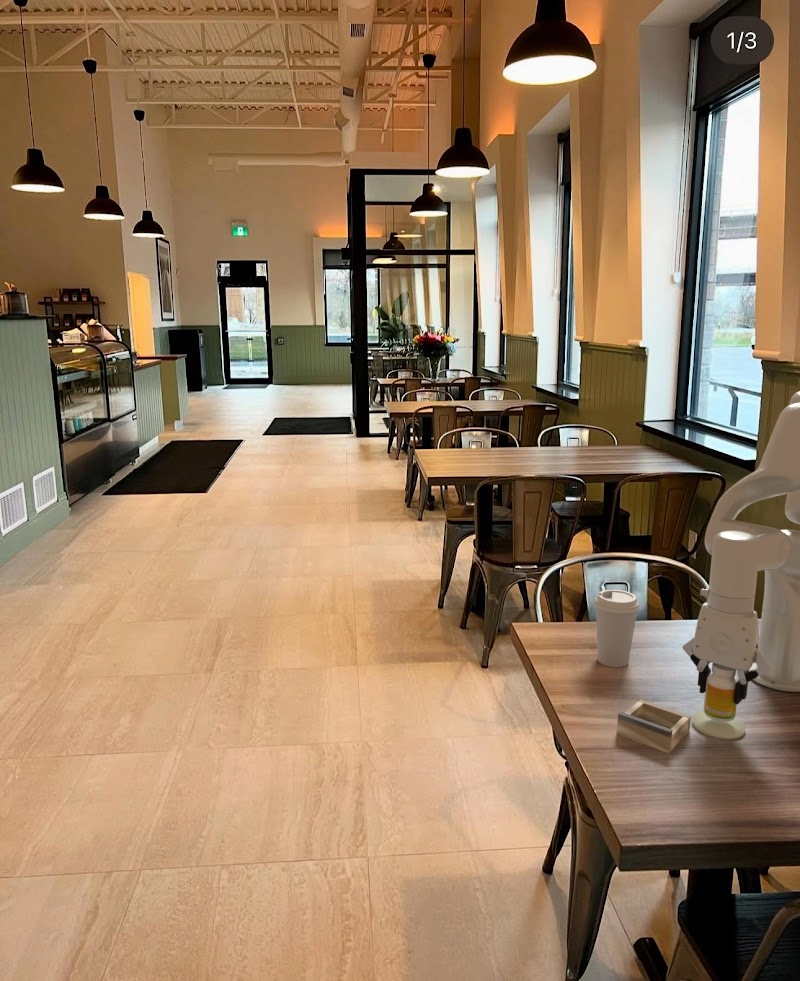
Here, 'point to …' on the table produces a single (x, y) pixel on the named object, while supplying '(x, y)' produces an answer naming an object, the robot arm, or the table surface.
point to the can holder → (653, 725)
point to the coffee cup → (615, 626)
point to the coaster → (718, 727)
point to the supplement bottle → (720, 694)
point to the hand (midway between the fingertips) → (721, 694)
